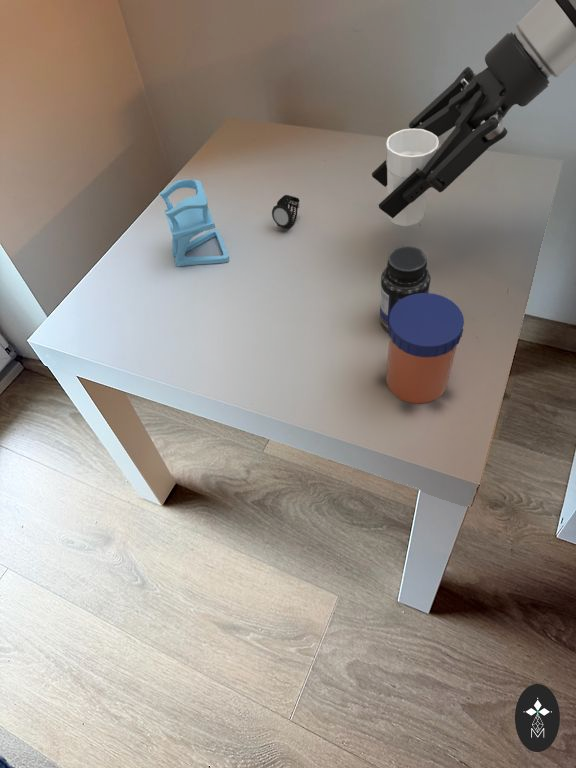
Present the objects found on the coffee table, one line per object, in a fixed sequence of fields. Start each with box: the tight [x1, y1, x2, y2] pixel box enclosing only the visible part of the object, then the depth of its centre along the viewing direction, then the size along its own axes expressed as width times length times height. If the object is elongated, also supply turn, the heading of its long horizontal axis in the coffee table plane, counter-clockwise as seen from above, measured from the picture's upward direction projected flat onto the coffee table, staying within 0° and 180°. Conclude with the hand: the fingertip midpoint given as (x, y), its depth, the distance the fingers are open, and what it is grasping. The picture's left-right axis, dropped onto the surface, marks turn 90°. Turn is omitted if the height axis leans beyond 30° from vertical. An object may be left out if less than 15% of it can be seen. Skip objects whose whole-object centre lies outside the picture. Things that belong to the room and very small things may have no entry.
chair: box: [158, 179, 230, 267], centre depth 82 cm, size 8×8×12 cm
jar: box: [385, 336, 458, 404], centre depth 64 cm, size 8×8×11 cm
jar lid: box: [388, 292, 465, 358], centre depth 60 cm, size 8×8×2 cm
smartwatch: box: [271, 194, 301, 230], centre depth 86 cm, size 4×5×5 cm
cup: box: [385, 128, 440, 227], centre depth 73 cm, size 7×7×11 cm
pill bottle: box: [378, 245, 432, 332], centre depth 69 cm, size 6×6×11 cm
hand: (382, 195), depth 75 cm, fingers closed on cup, 7 cm apart
